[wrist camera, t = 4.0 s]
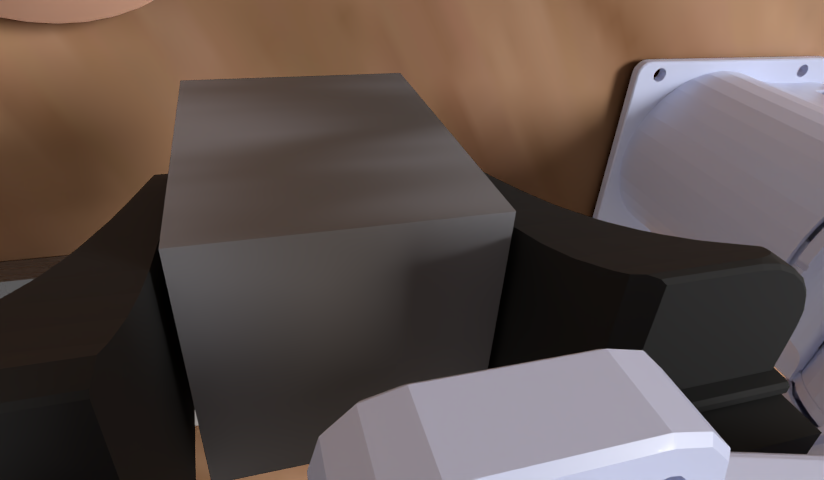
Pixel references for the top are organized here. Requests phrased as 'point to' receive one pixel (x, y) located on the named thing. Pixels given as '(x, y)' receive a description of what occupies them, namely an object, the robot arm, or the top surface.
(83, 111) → the top surface
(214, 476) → the block
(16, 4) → the dish
